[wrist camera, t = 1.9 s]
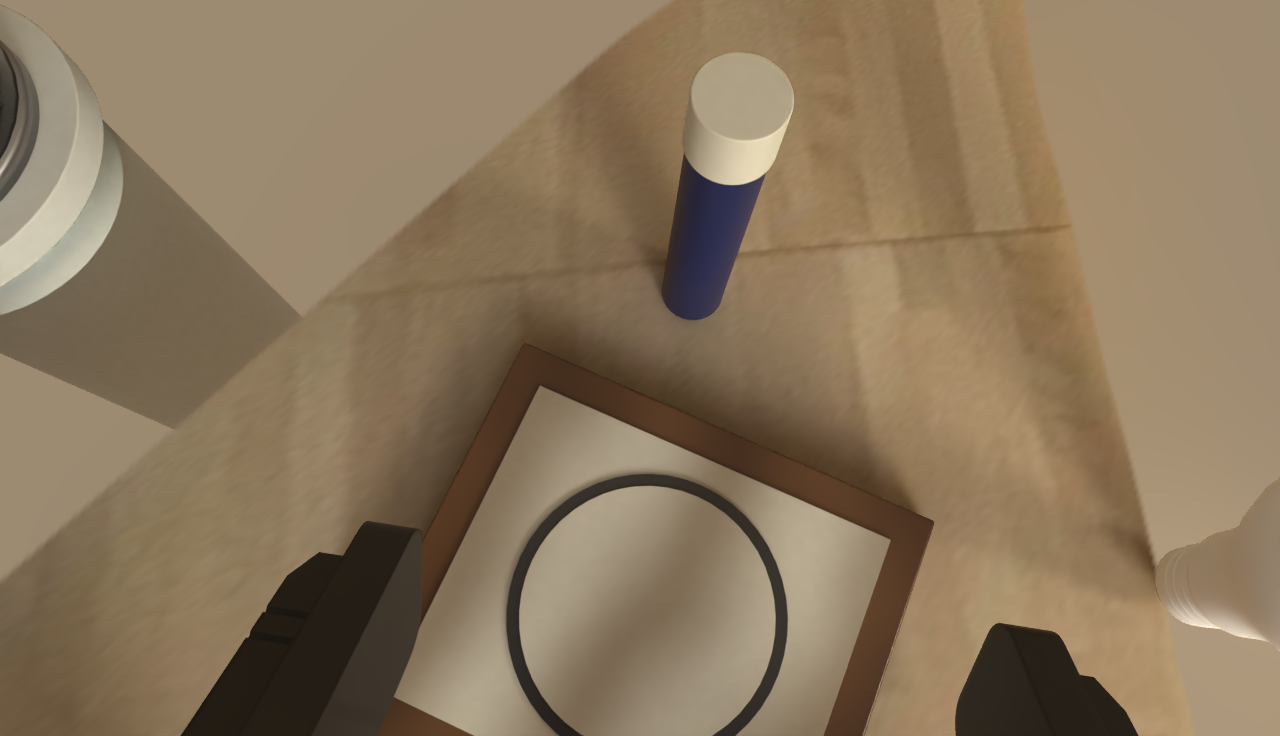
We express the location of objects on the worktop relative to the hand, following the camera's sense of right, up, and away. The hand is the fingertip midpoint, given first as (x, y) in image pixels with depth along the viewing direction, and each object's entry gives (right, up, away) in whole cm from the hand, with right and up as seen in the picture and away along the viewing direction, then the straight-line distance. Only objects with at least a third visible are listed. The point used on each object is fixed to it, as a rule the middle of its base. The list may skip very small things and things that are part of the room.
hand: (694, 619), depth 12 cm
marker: (+1, +6, +19) cm, 20 cm away
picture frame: (-1, -4, +16) cm, 16 cm away
